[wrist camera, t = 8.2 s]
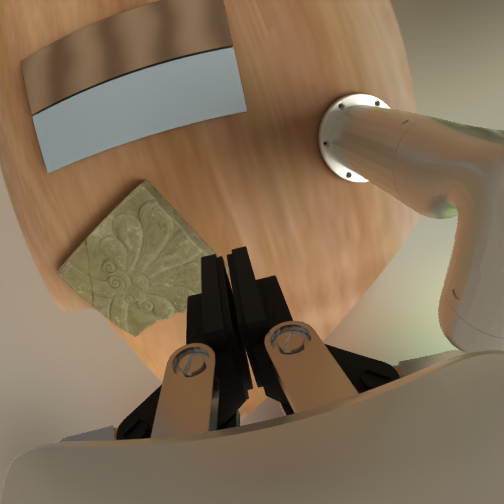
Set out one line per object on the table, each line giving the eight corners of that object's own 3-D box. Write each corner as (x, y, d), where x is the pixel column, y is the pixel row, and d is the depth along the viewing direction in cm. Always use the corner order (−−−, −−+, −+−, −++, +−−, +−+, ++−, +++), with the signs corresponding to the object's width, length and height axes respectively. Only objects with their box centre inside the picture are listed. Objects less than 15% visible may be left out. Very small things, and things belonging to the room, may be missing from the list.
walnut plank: (219, -7, 27) (220, -13, 25) (231, 48, 31) (233, 44, 29) (29, 61, 26) (20, 61, 24) (39, 113, 30) (31, 114, 28)
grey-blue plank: (232, 50, 31) (233, 47, 29) (244, 110, 34) (247, 111, 33) (39, 115, 30) (32, 116, 28) (54, 170, 33) (48, 173, 32)
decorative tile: (61, 263, 41) (52, 276, 38) (145, 176, 37) (140, 183, 34) (144, 334, 50) (141, 348, 47) (233, 269, 46) (236, 282, 43)
